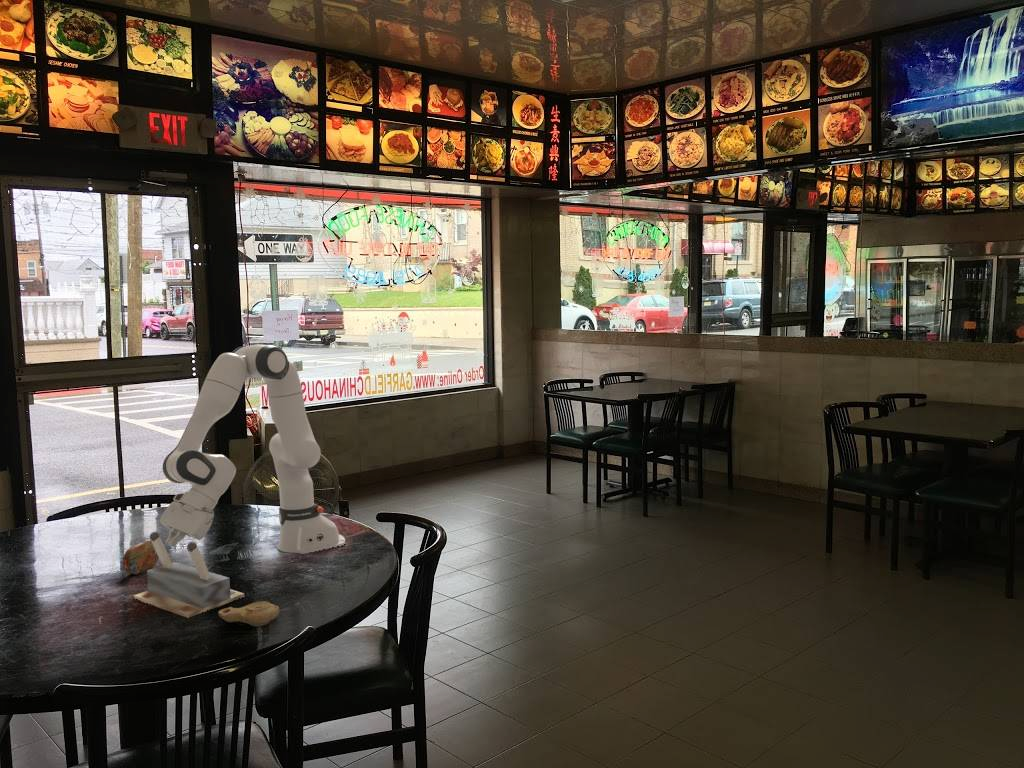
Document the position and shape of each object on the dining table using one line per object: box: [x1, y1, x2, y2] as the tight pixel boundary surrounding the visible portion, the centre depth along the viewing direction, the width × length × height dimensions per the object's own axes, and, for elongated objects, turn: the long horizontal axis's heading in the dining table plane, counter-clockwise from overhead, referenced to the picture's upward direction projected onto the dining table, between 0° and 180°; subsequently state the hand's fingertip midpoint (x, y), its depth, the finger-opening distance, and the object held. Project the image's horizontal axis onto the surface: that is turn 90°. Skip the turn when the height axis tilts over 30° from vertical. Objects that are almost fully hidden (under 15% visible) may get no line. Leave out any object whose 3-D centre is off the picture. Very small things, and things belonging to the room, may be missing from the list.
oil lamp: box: [217, 600, 280, 627], centre depth 217 cm, size 11×14×5 cm
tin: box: [122, 539, 160, 575], centre depth 262 cm, size 15×3×8 cm, turn 168°
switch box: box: [133, 561, 245, 619], centre depth 237 cm, size 18×26×7 cm
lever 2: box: [186, 541, 211, 580], centre depth 228 cm, size 3×3×12 cm
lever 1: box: [149, 531, 173, 568], centre depth 239 cm, size 3×3×12 cm
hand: (169, 545), depth 244 cm, fingers closed
